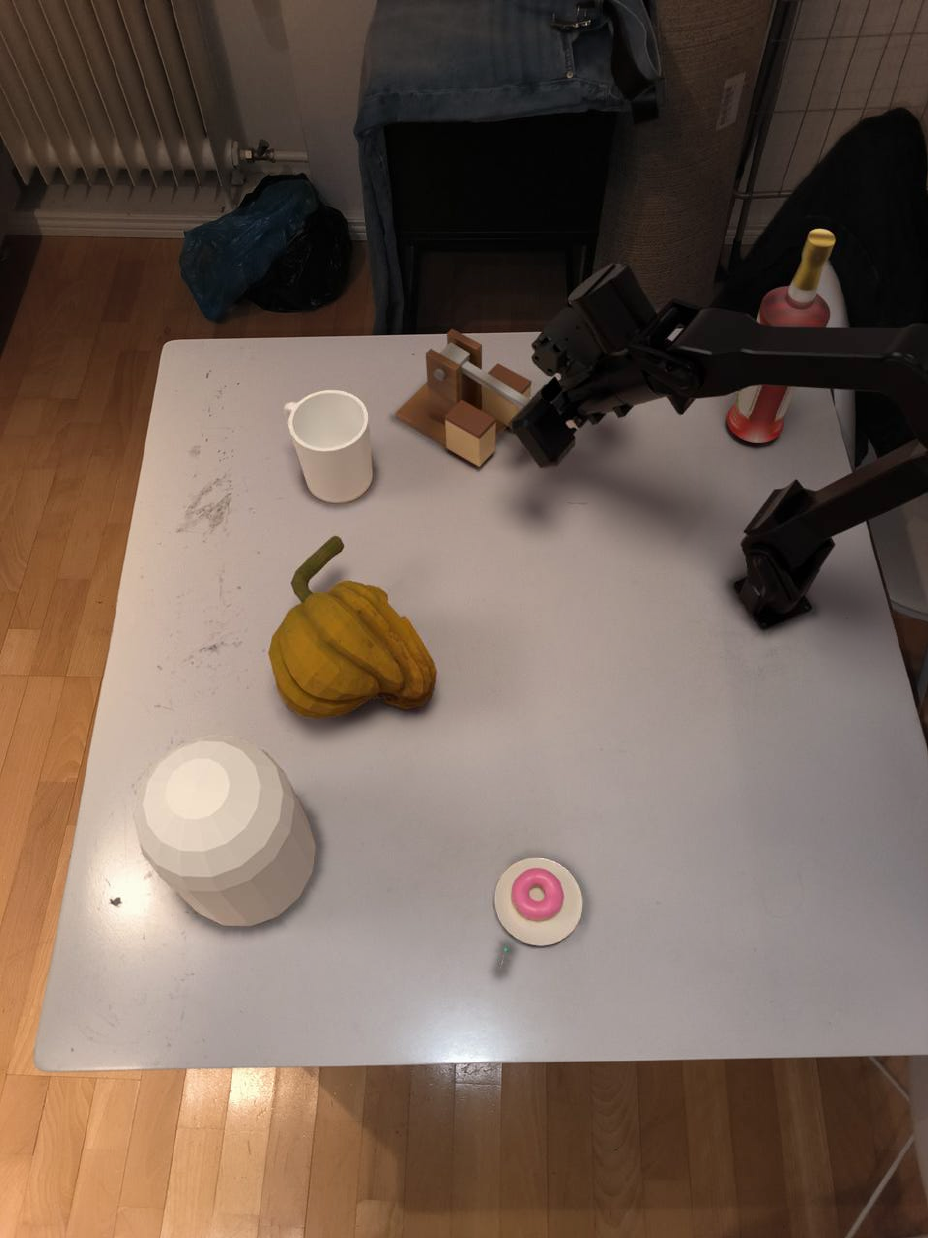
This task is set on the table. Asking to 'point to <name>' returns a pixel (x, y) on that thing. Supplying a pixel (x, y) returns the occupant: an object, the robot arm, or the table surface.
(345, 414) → the mug
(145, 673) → the table surface
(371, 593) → the pumpkin
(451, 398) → the slicer
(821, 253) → the liquor
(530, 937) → the donut on plate
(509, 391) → the blade lever
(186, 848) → the container
